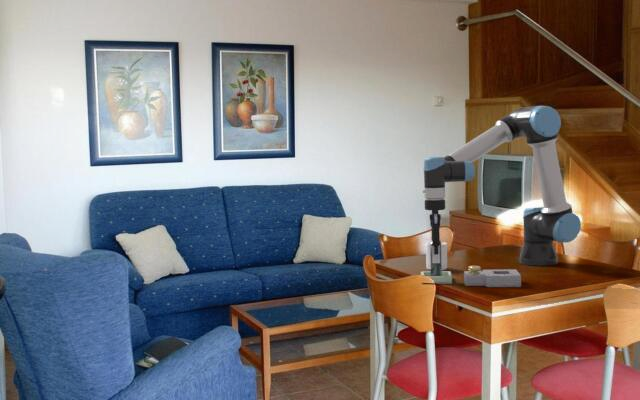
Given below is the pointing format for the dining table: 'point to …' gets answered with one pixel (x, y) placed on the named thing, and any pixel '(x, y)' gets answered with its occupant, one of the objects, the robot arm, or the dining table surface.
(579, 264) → the dining table surface
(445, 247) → the mug
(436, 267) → the gray rectangular peg
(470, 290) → the dining table surface
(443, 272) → the tray
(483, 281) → the socket block
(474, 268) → the brass knob
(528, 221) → the robot arm
